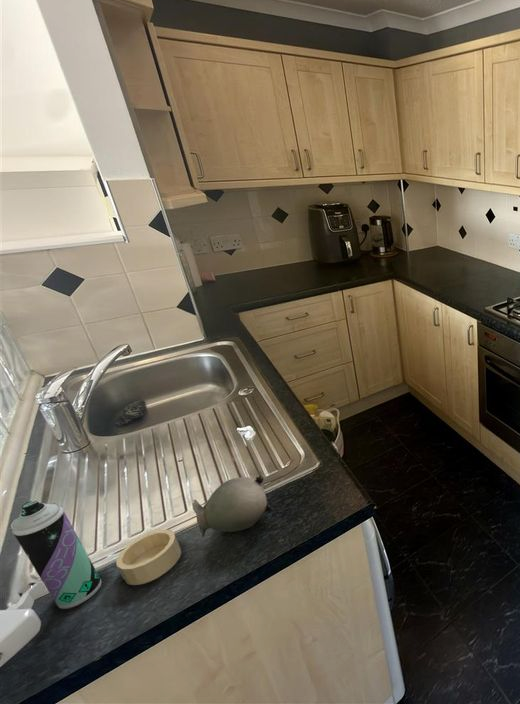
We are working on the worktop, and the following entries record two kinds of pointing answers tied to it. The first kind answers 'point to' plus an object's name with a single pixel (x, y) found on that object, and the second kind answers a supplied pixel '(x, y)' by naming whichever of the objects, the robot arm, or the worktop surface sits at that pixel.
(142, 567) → the beige base ring
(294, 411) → the worktop surface
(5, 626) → the robot arm
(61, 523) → the spray can
